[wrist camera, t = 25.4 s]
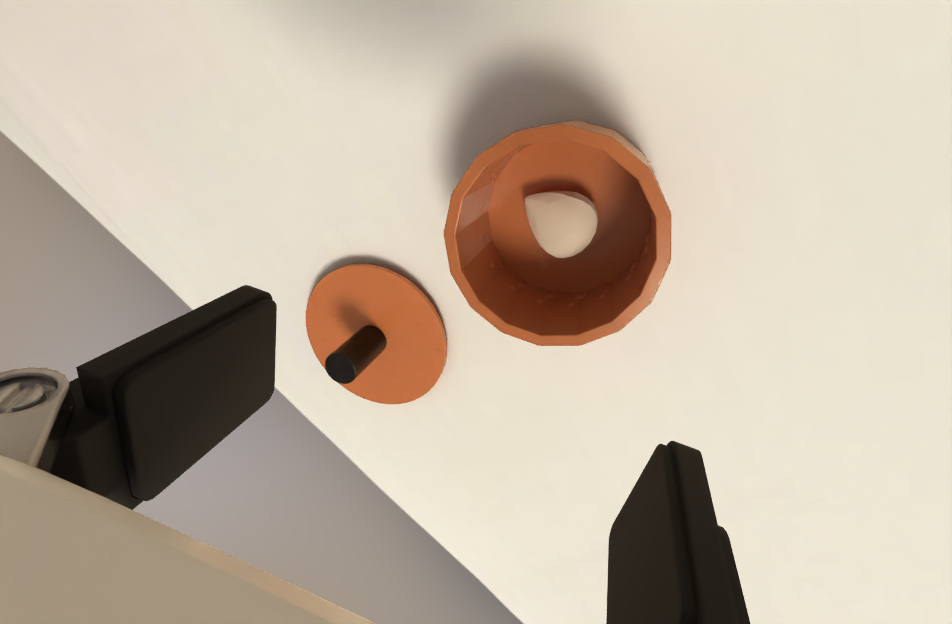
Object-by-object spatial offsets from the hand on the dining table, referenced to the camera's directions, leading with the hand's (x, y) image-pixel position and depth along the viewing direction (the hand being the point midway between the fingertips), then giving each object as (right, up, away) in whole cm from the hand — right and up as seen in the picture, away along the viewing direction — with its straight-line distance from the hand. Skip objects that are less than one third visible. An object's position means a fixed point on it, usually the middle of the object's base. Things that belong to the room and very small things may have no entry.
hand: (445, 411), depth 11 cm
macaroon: (+6, +9, +20) cm, 23 cm away
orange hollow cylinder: (+7, +9, +20) cm, 23 cm away
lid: (-8, 0, +28) cm, 29 cm away
